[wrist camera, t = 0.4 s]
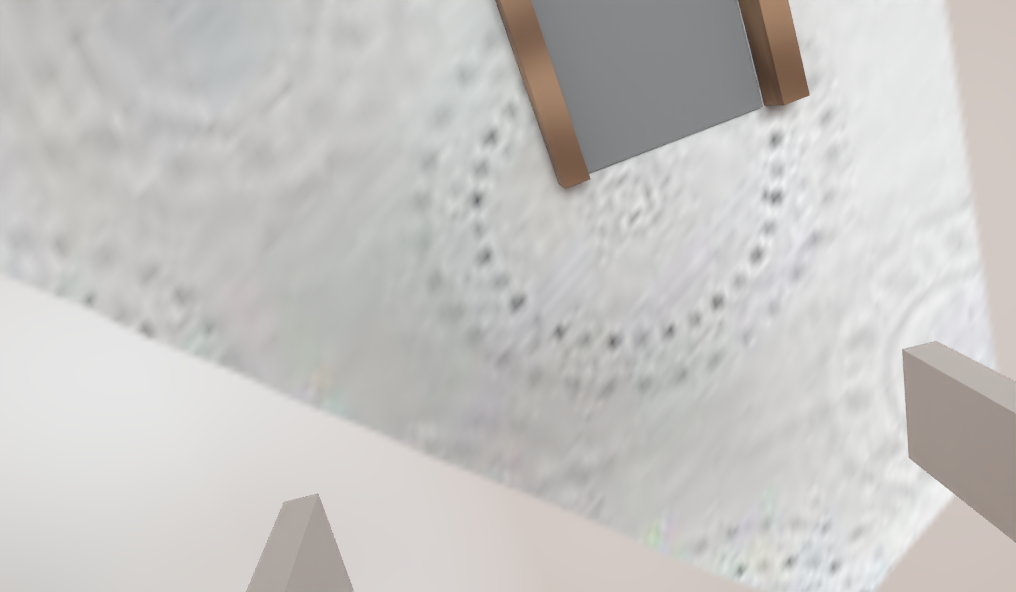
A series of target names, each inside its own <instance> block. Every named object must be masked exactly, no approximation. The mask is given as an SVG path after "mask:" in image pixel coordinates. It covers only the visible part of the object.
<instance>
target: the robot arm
mask: <svg viewBox="0 0 1016 592" xmlns="http://www.w3.org/2000/svg"><path fill="white" fill-rule="evenodd" d="M902 354H903V370H904V386H905V403H906V419H907V435H908V452H909V458H910V459H911V460H912V461H914V462H915V463H916V464H917V465H919V466H920V467H921V468H922V469H924V470H925V471H926V472H927V473H929V474H930V475H931V476H932V477H934V478H935V479H936V480H938V481H939V482H940V483H941V484H943V485H944V486H945V487H946V488H948V489H949V490H950V491H951V492H953V493H954V494H955V495H956V496H958V497H959V498H960V499H961V500H963V501H964V502H965V503H966V504H968V505H969V506H970V507H972V508H973V509H974V510H975V511H977V512H978V513H979V514H980V515H982V516H983V517H984V518H986V519H987V520H988V521H989V522H990V523H992V524H993V525H994V526H996V527H997V528H998V529H999V530H1000V531H1002V532H1003V533H1004V534H1006V535H1007V536H1008V537H1009V538H1011V539H1012V540H1013V541H1014V542H1016V381H1014V380H1012V379H1010V378H1008V377H1006V376H1004V375H1002V374H1000V373H998V372H996V371H994V370H992V369H990V368H988V367H986V366H984V365H982V364H980V363H978V362H976V361H974V360H972V359H971V358H969V357H967V356H965V355H963V354H961V353H959V352H957V351H955V350H953V349H951V348H949V347H947V346H945V345H943V344H941V343H939V342H937V341H934V342H930V343H926V344H922V345H918V346H914V347H910V348H906V349H902ZM246 592H354V591H353V588H352V585H351V582H350V579H349V577H348V574H347V571H346V569H345V566H344V563H343V560H342V557H341V555H340V552H339V549H338V547H337V544H336V541H335V538H334V536H333V533H332V530H331V527H330V524H329V522H328V519H327V516H326V514H325V511H324V508H323V505H322V503H321V500H320V497H319V494H315V495H310V496H306V497H302V498H298V499H294V500H290V501H286V502H284V503H283V506H282V508H281V510H280V513H279V515H278V517H277V520H276V522H275V525H274V527H273V529H272V532H271V534H270V537H269V539H268V541H267V544H266V546H265V548H264V551H263V553H262V556H261V558H260V560H259V562H258V565H257V567H256V570H255V572H254V574H253V577H252V579H251V582H250V584H249V586H248V589H247V591H246Z"/></svg>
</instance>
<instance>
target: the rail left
mask: <svg viewBox="0 0 1016 592" xmlns="http://www.w3.org/2000/svg"><path fill="white" fill-rule="evenodd" d="M496 3H497V6H498V9H499V12H500V15H501V18H502V20H503V23H504V26H505V29H506V32H507V35H508V38H509V41H510V44H511V46H512V49H513V52H514V55H515V58H516V61H517V64H518V67H519V70H520V72H521V75H522V78H523V81H524V84H525V87H526V90H527V93H528V95H529V98H530V101H531V104H532V107H533V110H534V113H535V116H536V119H537V121H538V124H539V127H540V130H541V133H542V136H543V139H544V142H545V145H546V147H547V150H548V153H549V156H550V159H551V162H552V165H553V168H554V170H555V173H556V176H557V179H558V182H559V184H560V185H561V186H563V187H564V188H565V189H566V188H569V187H571V186H574V185H576V184H579V183H582V182H584V181H587V180H590V176H589V173H588V170H587V167H586V164H585V161H584V158H583V155H582V152H581V149H580V146H579V143H578V140H577V137H576V134H575V131H574V128H573V125H572V122H571V119H570V116H569V113H568V110H567V107H566V104H565V101H564V98H563V95H562V92H561V89H560V86H559V83H558V80H557V77H556V74H555V71H554V68H553V65H552V62H551V59H550V56H549V53H548V50H547V47H546V44H545V41H544V38H543V35H542V32H541V29H540V26H539V23H538V20H537V17H536V14H535V11H534V8H533V5H532V2H531V0H496Z"/></svg>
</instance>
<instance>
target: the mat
mask: <svg viewBox="0 0 1016 592" xmlns="http://www.w3.org/2000/svg"><path fill="white" fill-rule="evenodd" d="M531 2H532V5H533V8H534V11H535V14H536V17H537V20H538V23H539V26H540V29H541V32H542V35H543V38H544V41H545V44H546V47H547V50H548V53H549V56H550V59H551V62H552V65H553V68H554V71H555V74H556V77H557V80H558V83H559V86H560V89H561V92H562V95H563V98H564V101H565V104H566V107H567V110H568V113H569V116H570V119H571V122H572V125H573V128H574V131H575V134H576V137H577V140H578V143H579V146H580V149H581V152H582V155H583V158H584V161H585V164H586V167H587V170H588V173H591V172H593V171H596V170H598V169H601V168H604V167H606V166H609V165H611V164H614V163H617V162H619V161H622V160H624V159H627V158H630V157H632V156H635V155H638V154H640V153H643V152H645V151H648V150H651V149H653V148H656V147H658V146H661V145H664V144H666V143H669V142H672V141H674V140H677V139H679V138H682V137H685V136H687V135H690V134H692V133H695V132H698V131H700V130H703V129H705V128H708V127H711V126H713V125H716V124H719V123H721V122H724V121H726V120H729V119H732V118H734V117H737V116H739V115H742V114H745V113H747V112H750V111H753V110H755V109H758V108H760V107H763V105H762V101H761V97H760V93H759V89H758V85H757V81H756V77H755V73H754V69H753V65H752V61H751V57H750V53H749V49H748V45H747V41H746V37H745V33H744V29H743V25H742V21H741V17H740V13H739V9H738V5H737V1H736V0H531Z"/></svg>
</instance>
